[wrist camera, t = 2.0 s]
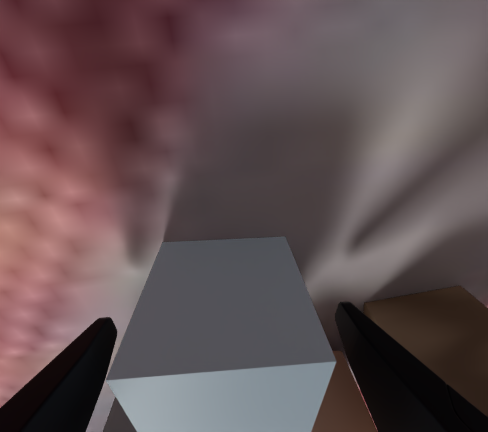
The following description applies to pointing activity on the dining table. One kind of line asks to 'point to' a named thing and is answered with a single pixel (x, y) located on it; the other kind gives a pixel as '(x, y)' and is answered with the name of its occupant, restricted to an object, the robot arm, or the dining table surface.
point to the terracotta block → (343, 403)
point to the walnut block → (441, 336)
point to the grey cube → (223, 342)
